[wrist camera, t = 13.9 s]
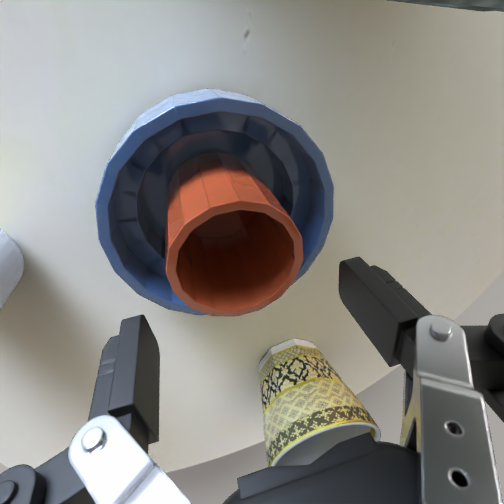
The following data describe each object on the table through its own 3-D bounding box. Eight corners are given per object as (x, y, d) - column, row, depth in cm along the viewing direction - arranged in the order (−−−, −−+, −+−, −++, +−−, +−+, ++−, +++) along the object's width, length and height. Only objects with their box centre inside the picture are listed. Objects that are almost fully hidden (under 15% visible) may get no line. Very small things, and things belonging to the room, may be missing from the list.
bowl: (150, 289, 24) (147, 336, 20) (72, 112, 17) (41, 130, 13) (305, 249, 26) (332, 285, 22) (298, 70, 18) (336, 75, 14)
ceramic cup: (272, 318, 29) (313, 420, 21) (346, 335, 34) (404, 425, 26) (216, 399, 34) (232, 506, 26) (287, 405, 39) (319, 498, 31)
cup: (181, 249, 22) (187, 330, 16) (152, 162, 18) (145, 221, 12) (265, 228, 23) (305, 297, 16) (254, 141, 19) (300, 186, 13)
